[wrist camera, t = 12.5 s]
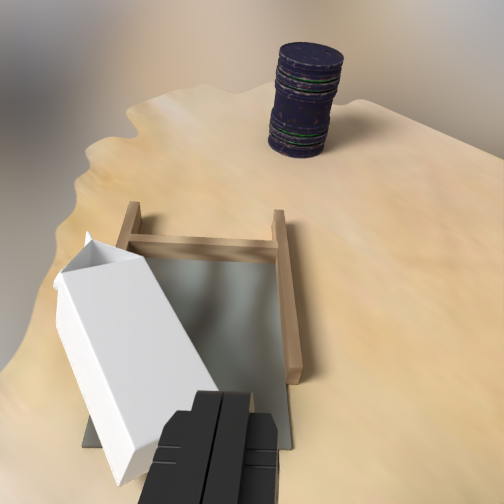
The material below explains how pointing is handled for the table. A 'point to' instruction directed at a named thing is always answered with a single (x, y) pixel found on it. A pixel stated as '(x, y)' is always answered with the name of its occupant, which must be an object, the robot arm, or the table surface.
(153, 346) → the milk carton
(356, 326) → the table surface
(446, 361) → the table surface
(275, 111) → the dark blue barrel
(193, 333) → the tray
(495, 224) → the table surface
